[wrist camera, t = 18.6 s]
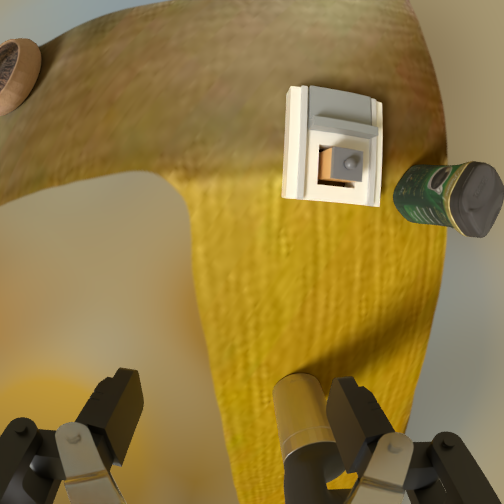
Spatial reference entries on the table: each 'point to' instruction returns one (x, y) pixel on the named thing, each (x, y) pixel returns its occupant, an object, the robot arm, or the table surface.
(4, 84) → the potted plant
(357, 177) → the plug
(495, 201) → the coffee jar
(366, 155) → the socket
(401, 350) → the table surface
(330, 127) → the shutter
